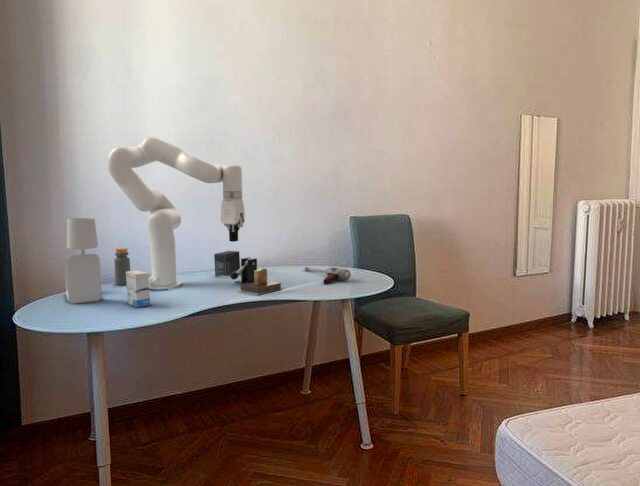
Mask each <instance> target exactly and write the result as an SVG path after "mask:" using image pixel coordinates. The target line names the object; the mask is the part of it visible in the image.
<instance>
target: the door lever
mask: <svg viewBox="0 0 640 486" xmlns="http://www.w3.org/2000/svg"><path fill="white" fill-rule="evenodd" d="M247 258H248V257H247ZM250 258H251V257H250ZM250 258H248V259H250ZM248 259H247V260H248ZM247 260H246V261H245V262H244V263H245V265H243V266H242V267H241V266H240V269H239V270H238V271H236V272H232V273H231V274H230V275H229V277H230V279H231V280H234V281H235V280H237V279H238V277H239V274H241V271H243V270H244V269H245V268H246V267H247Z"/></svg>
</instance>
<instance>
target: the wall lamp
mask: <svg viewBox="0 0 640 486" xmlns="http://www.w3.org/2000/svg"><path fill="white" fill-rule="evenodd" d="M66 226H67V227H66V228H67V229H66V232H67V233H66V237H67V238H66V249H67V250H80V254H72V255H71V254H70V255H69V256H68V257H67V258H66V267H65V269H64V283H65V284H64V285H65V286H64V287H65V296H66V298H67V302H68V303H71V304H81V303H91V302H98V301H100V300H101V299H102V297H103V296H102V295H103V294H102V277H101V276H102V275H101V259H100V257H99V255H98V254H96V253H86V250H90V249H96V248H98V247H99V242H98V235H97V227H96V226H97V225H96V219H95V218H94V217H75V218H74V217H73V218H67V225H66Z"/></svg>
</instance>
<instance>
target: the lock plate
mask: <svg viewBox="0 0 640 486" xmlns="http://www.w3.org/2000/svg"><path fill="white" fill-rule="evenodd" d="M281 288H282V283H281V282H279V281H272V280H268V279H267V283H264V284H260V285H256V284H254V282H250V283H246V284H240V291H243V292H248V293H252V294H256V296H257V297H258V296H263V295H267V294H272V293H276V292H280V291H281Z"/></svg>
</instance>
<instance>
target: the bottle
mask: <svg viewBox="0 0 640 486" xmlns="http://www.w3.org/2000/svg"><path fill="white" fill-rule="evenodd" d="M128 249H129V248H128V247H117V248H116V247H115V253H114V255H115V257H116V258H114V262H113V263H114V280H115V281H114V282H115V285H116V286H127V283H126V272H127V271H131V260H130V258H129V257H128V256H129V252H128Z"/></svg>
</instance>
